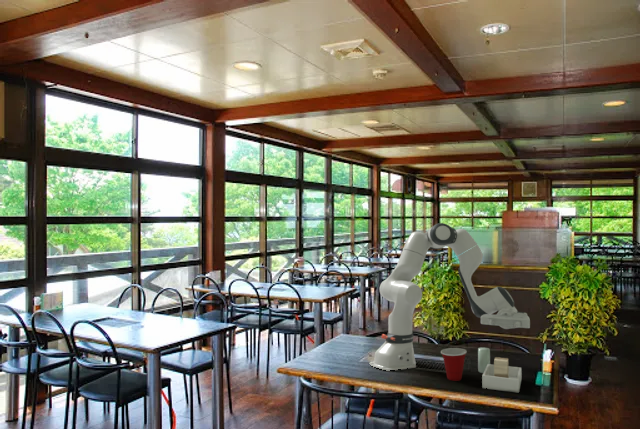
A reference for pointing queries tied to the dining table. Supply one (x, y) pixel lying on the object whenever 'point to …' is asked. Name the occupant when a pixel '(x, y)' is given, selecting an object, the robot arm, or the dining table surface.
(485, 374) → the tub
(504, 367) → the birch block
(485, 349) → the ceramic shaker
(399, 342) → the robot arm
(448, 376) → the plastic cup
